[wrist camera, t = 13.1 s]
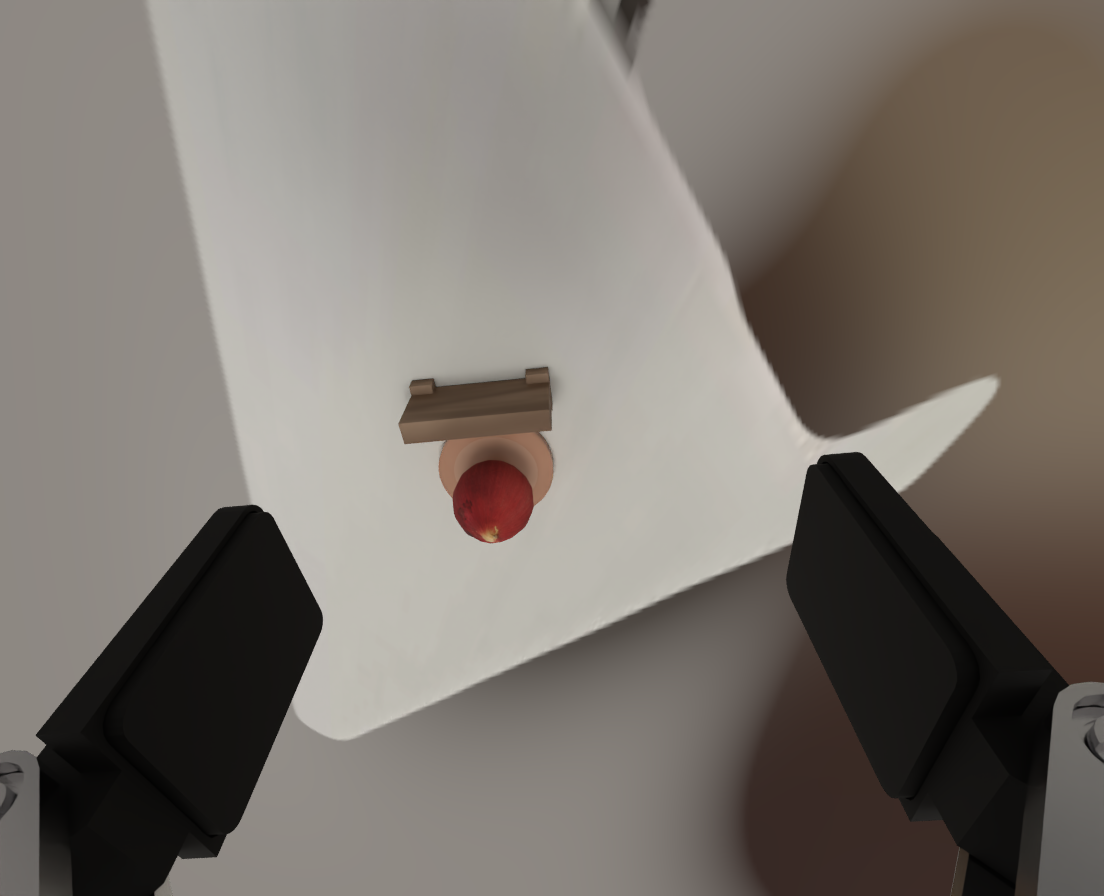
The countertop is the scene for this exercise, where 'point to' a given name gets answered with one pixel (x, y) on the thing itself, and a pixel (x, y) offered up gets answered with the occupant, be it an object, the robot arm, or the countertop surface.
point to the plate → (513, 448)
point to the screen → (477, 409)
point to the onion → (493, 501)
